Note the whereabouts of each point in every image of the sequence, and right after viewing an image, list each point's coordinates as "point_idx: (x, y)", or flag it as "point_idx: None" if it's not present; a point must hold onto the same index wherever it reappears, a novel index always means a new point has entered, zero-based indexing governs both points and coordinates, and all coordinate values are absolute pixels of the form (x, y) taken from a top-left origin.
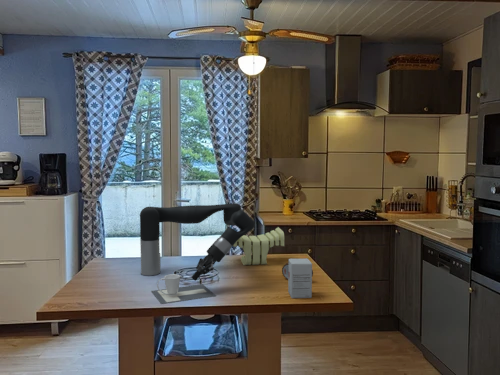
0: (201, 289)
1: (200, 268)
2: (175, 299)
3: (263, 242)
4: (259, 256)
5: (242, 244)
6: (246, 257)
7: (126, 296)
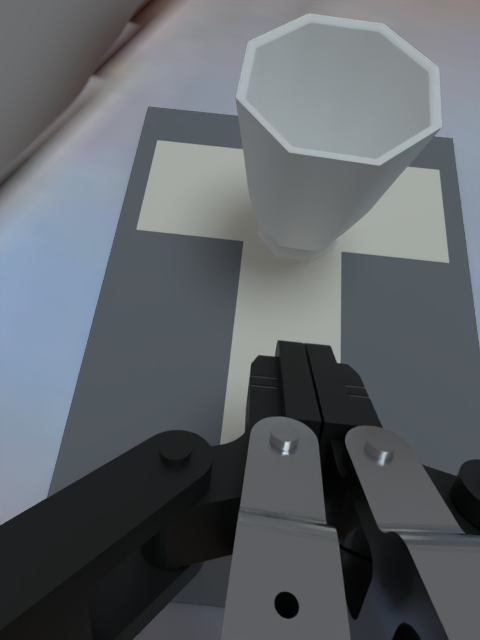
0: None
1: (277, 485)
2: (175, 204)
3: None
4: None
5: None
6: None
7: (398, 15)
